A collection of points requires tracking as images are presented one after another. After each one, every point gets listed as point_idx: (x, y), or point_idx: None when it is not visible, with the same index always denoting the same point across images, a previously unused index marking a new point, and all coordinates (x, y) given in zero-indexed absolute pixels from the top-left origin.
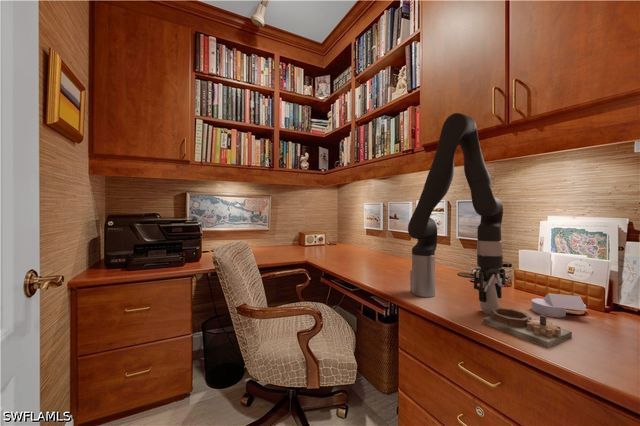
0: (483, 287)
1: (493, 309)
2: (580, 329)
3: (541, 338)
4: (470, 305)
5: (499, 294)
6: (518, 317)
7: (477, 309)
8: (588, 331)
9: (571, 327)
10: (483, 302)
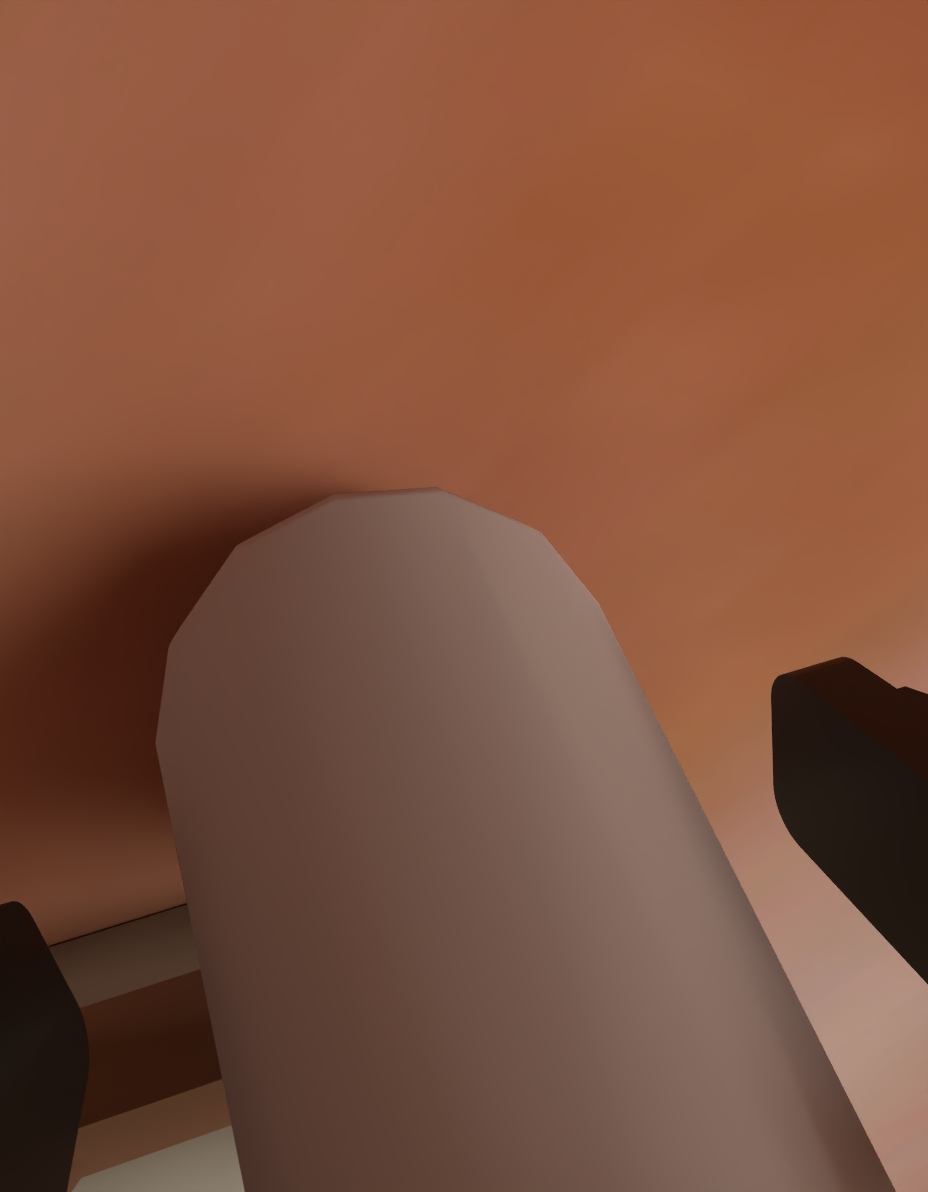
0: (361, 1119)
1: (89, 1141)
2: (915, 1158)
3: None
4: (303, 40)
5: (858, 881)
6: None
7: (256, 386)
8: (922, 1189)
9: (898, 1125)
10: (169, 807)
